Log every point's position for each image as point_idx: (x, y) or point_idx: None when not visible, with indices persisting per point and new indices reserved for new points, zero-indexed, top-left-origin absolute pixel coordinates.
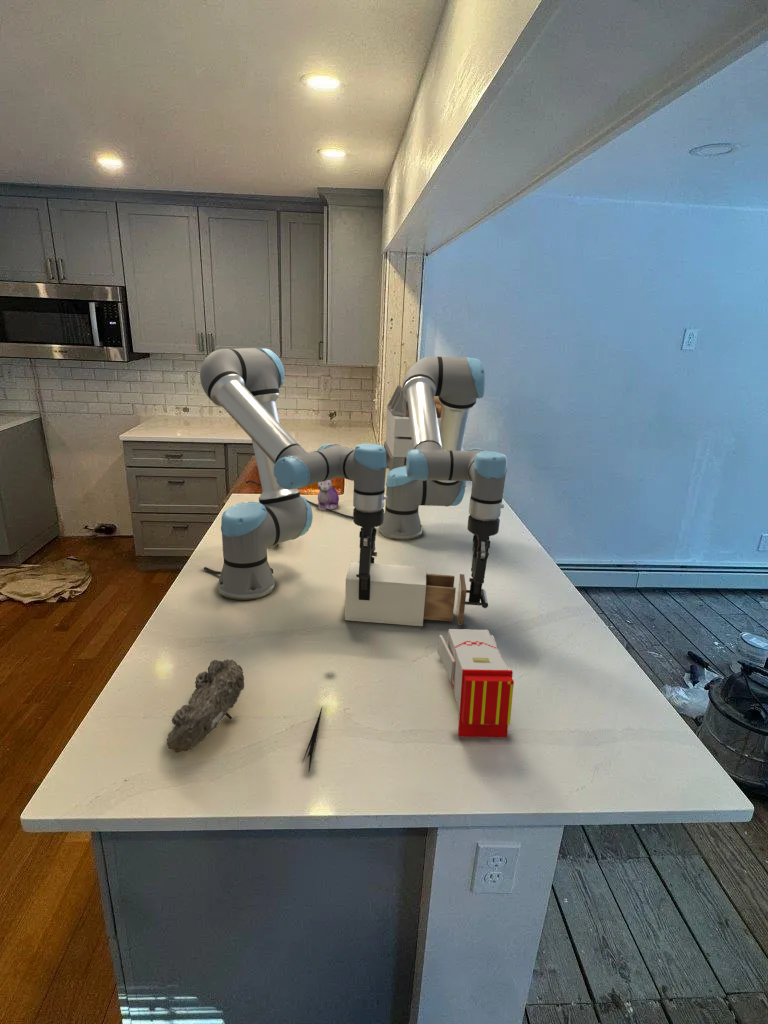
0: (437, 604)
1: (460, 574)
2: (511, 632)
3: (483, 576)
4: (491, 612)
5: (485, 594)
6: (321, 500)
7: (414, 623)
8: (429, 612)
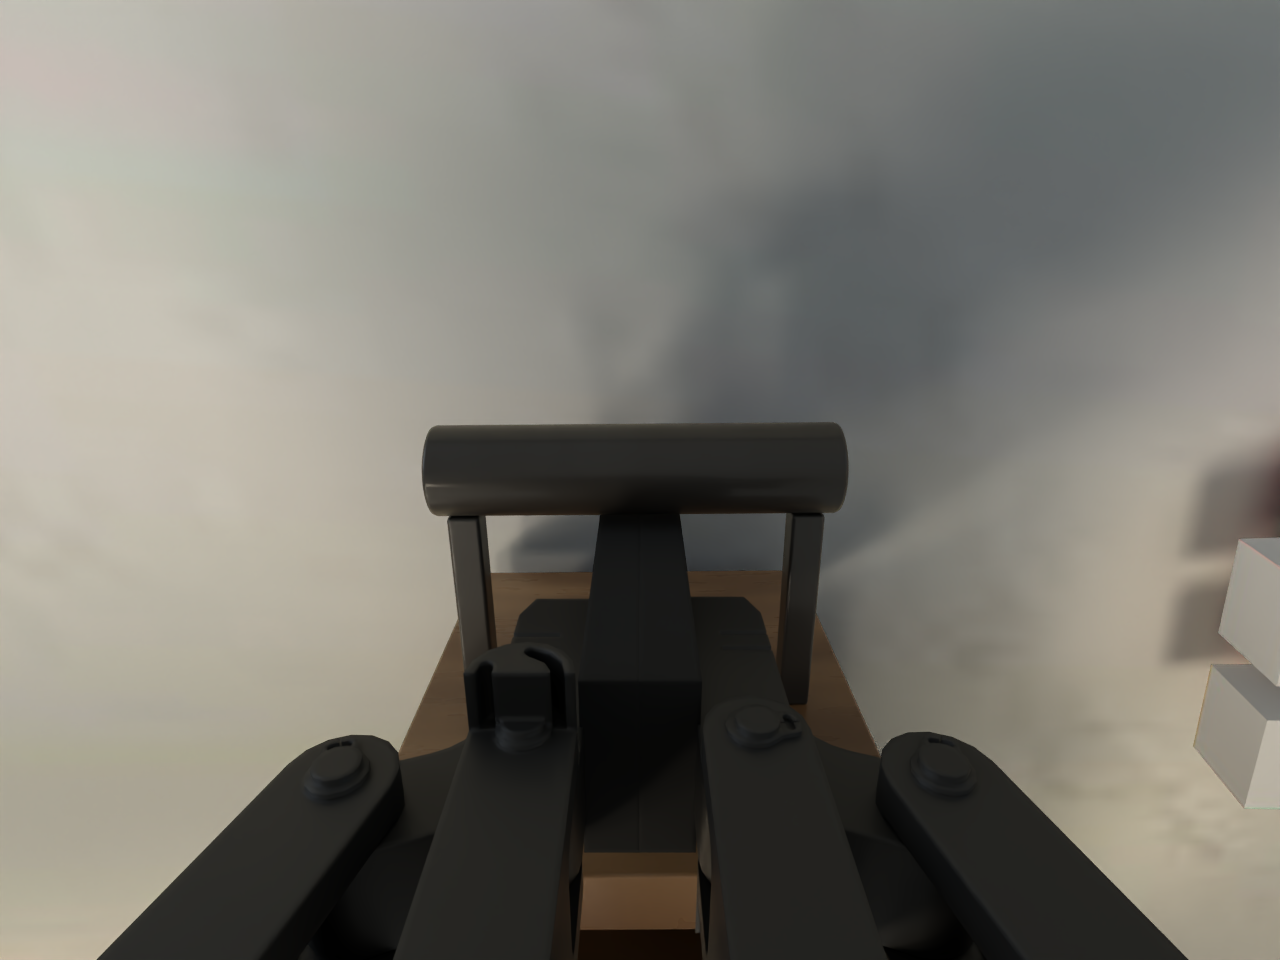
0: None
1: None
2: (834, 81)
3: (1154, 954)
4: (448, 264)
5: (582, 455)
6: None
7: None
8: None
